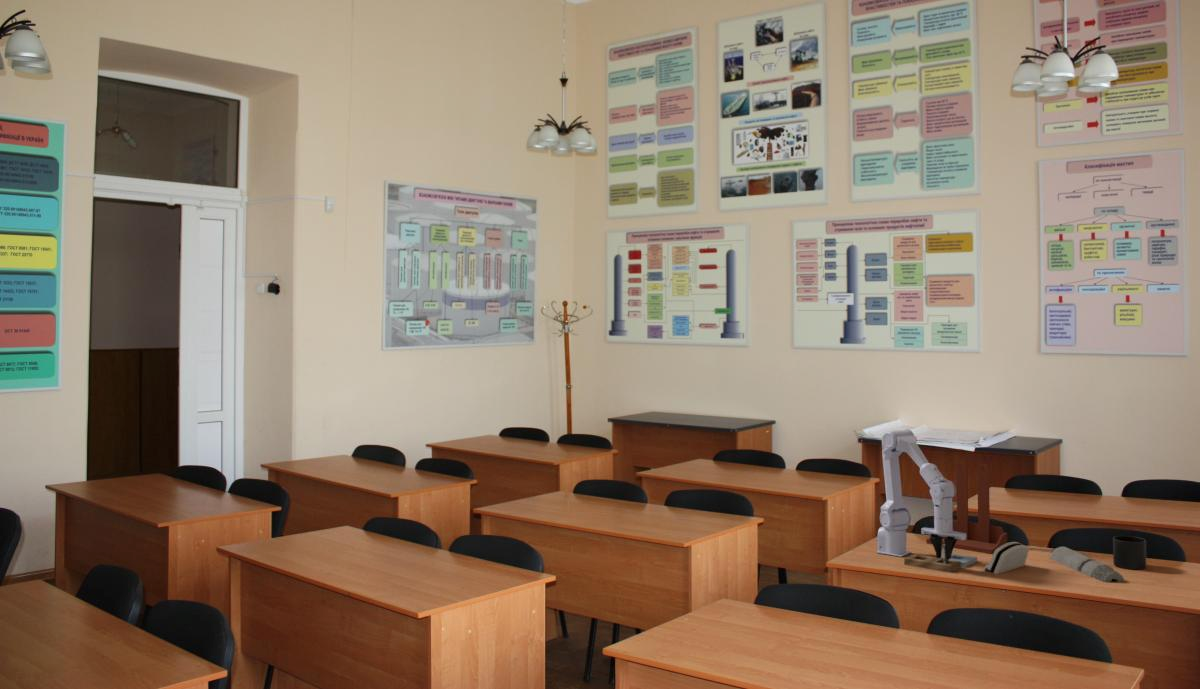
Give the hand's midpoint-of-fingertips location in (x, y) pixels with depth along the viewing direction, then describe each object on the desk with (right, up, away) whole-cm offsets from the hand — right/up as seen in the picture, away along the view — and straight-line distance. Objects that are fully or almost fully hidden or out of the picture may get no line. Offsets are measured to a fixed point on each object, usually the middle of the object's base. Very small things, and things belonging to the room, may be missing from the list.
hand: (943, 558), depth 312 cm
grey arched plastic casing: (+20, -3, -3) cm, 21 cm away
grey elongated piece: (+45, -3, -5) cm, 45 cm away
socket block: (+7, -3, +7) cm, 10 cm away
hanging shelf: (+19, -3, +30) cm, 36 cm away
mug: (+60, -2, -2) cm, 60 cm away
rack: (-3, -3, +3) cm, 5 cm away
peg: (0, -3, 0) cm, 3 cm away
